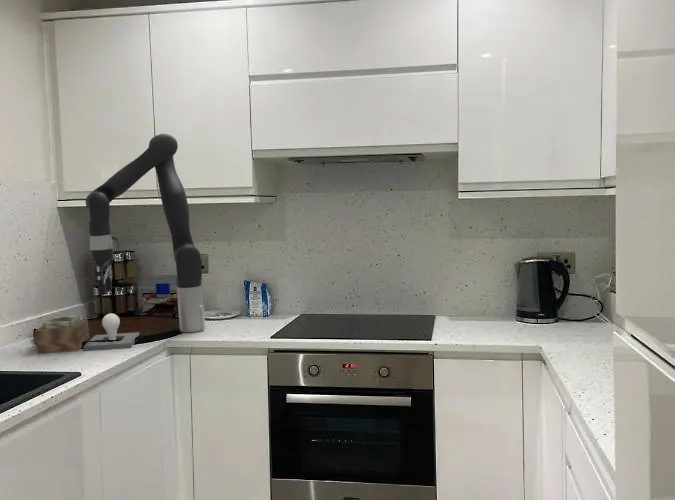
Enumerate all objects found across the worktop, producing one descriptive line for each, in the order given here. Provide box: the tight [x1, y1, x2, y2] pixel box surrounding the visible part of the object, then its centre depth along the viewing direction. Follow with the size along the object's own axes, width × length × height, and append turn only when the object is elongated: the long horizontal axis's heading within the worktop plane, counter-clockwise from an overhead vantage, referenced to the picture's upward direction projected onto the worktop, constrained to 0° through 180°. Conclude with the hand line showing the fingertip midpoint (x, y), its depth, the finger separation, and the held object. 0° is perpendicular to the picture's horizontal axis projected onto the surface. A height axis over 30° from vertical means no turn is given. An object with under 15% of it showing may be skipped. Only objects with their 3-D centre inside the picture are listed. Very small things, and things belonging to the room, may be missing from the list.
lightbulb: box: [101, 313, 121, 340], centre depth 236 cm, size 6×6×11 cm
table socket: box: [83, 331, 140, 352], centre depth 236 cm, size 16×16×2 cm
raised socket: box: [34, 315, 90, 354], centre depth 234 cm, size 14×14×10 cm
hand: (105, 292), depth 235 cm, fingers open, 8 cm apart
